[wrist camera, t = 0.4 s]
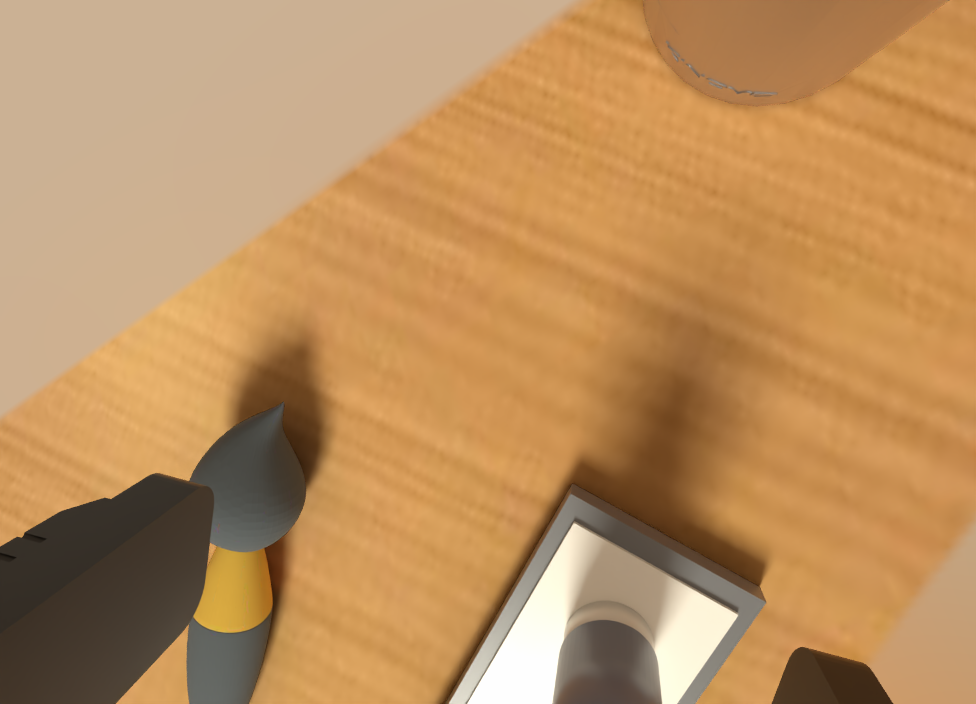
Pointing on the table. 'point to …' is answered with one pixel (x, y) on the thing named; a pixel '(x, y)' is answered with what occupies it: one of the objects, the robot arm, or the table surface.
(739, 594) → the whiteboard
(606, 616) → the peach capped blue cylinder
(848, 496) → the table surface
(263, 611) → the paintbrush
